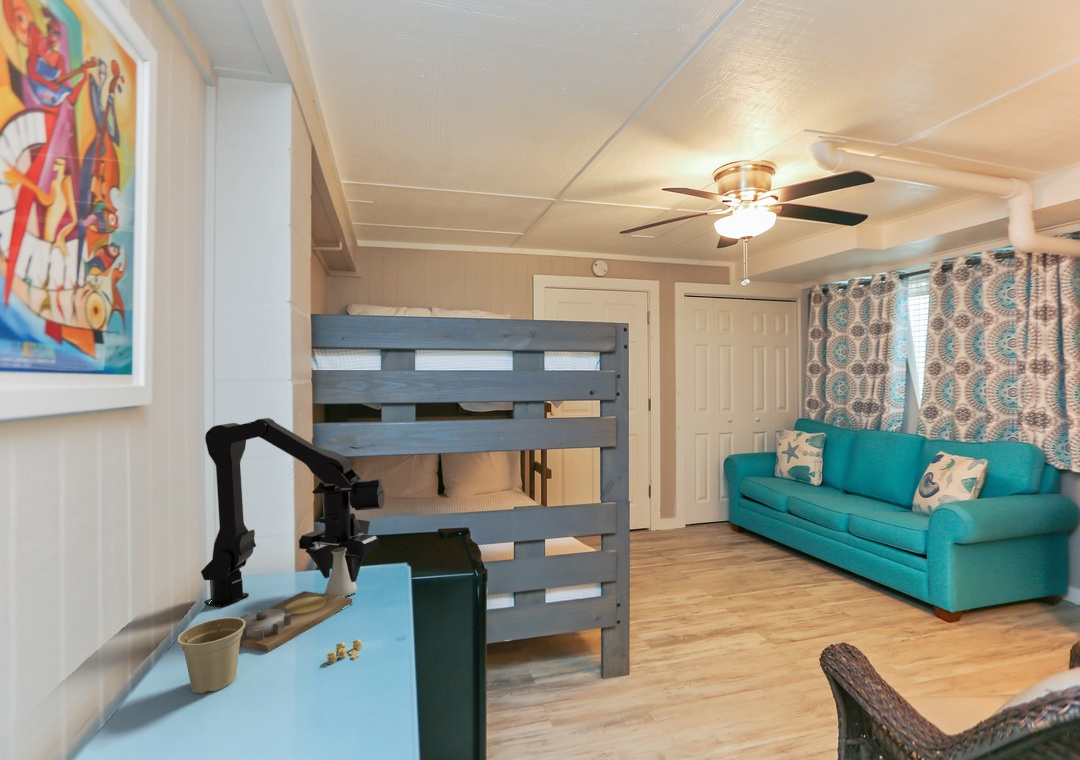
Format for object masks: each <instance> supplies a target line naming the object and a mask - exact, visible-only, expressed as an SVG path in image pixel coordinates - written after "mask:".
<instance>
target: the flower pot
mask: <svg viewBox="0 0 1080 760" xmlns="http://www.w3.org/2000/svg"><path fill="white" fill-rule="evenodd" d="M244 627H245V621H244V620H243V619H241V618H240V617H233V616H232V617H231V616H230V617H229V616H228V617H220V618H215V619H209V620H206V621H203V622H200V623H198V624H194V625H193V626H190V627H188V628H187V629H185V630H184V631H181V633H180V634H179V635H178V636H177V639H176V641H177V643H178V644H179V645H180V648H181V651H182V652H183V654H184V658H185V663H186V669H187V673H188V677H189V681H190V687H191V690H192V692H193V693H196V694H205V693H206V692H217V691H220V690H222V689H223V688H226V687H228V686H229V685H231V684H232V683H233V682H234V681H235V678H236V677H237V673H238V662H239V653H240V646H239V645H240V637H241V636H242V632H243V629H244Z"/></svg>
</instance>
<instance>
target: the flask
mask: <svg viewBox="0 0 1080 760" xmlns="http://www.w3.org/2000/svg"><path fill="white" fill-rule="evenodd" d="M346 552H347V547H337V548H332V549H331V554H332V560H333V561H332V567H331V570H330V576H329V579H328V582H327V585H326V588H325V591H324V594H326V595H332V596H339V597H343V596H346V595H349V594H352V595H354V594H353V593H355V592H356V593H357V591H358V586H357V584H356V581H355V582H351V579H350V576H349V572H348V568H347V564H346V560H345V555H346ZM356 593H355V594H356Z"/></svg>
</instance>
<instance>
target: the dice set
mask: <svg viewBox="0 0 1080 760" xmlns="http://www.w3.org/2000/svg"><path fill="white" fill-rule="evenodd" d="M335 649H336V651H331V652H329V653H327V664H329V665H333V664H335V663H337V660H338V659H337V655H338V657H339V659H340V658H343V659H346V658H345V657H347V648H346V643H345V642H338V643H337V644H336V648H335ZM354 650H355V651H354ZM361 650H362V639H354V640H353V641H352V650H351V651H350V652H348V655H349V654H350V655H349V656H350V659H351V658H352V660H356V659H358V658H360V655H359V654H358V652H359V651H361ZM337 653H339V654H337ZM332 663H333V664H332Z"/></svg>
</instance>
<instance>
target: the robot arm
mask: <svg viewBox="0 0 1080 760" xmlns="http://www.w3.org/2000/svg"><path fill="white" fill-rule="evenodd" d="M255 438H260V439H263V440H264V441H266V442H267V443H269V444H271V445H273V446H274V447H276V448H278V449H279V450H281V451H283V452H285V453H286V454H287V455H289V456H291V457H293V458H295V459H296V460H298V461H300V462H302V463H303V464H304V465H306V466H307V468H308V469H309V470H310V471H309V472H311V474H312V475H314V476H315V477H317V478H318V479H319V480H320V482H319V484H318V485H317V486H316V488H315V489H313V490H312V494H313V495H315V494H322V508H323V509H322V510H323V517H319V523H320V524H323V530H321V529H320V530H319V529H316V530H314V531H310V532H307V533H304V534H302V535H301V537H299V539H298V547H299V550H301V549H302V550H305V553H306V554H308V555H309V556H310V558H311V559H312V561H313V562H314V563H315V565H316V566H317V568H318V570H319V571H320V574H321V575H322V576H323V578H324V579H328V578H330V574H331V552H332V550H333V547H339V548H343V547H344V548H346V552H348V553H347V554H346V553H345V560H346V564H347V568H348V572H349V576H350V579H351V582H355V583H356V581H357V579H358V576H359V572H360V570H361V566H362V563H363V561H364V559H365V556H366V555H367V554H369V553H371V552H372V551H374V550H377V549H379V548H380V545H379V541H380V540H379V538H378V536H376V535H372V534H369V530H370V523H371V520H363V519H358V518H356V514H355V513H354V512H351V508H352V509H355V511H367V510H371V511H372V510H382V509H383V508H384V504H385V497H386V496H385V490H384V486H383V484H382V479H381V478H373V479H365V480H362V478H361V477H360V476H359V475H358V474H357V472H356V471H355V470H354V469H353V467H352V465H351V460H350V459H349V458H348V457H347V456H345V455H343V454H341V453H339V452H338V453H337V452H335V451H332V450H328V449H325V448H321V447H318V446H316V445H315V444H313V443H311V442H310V441H307V440H306V439H304V438H303V437H301V436H300V435H297V434H296V433H294V432H292V431H291V430H289V429H287V428H285V426H282V425H280V424H278V422H276V421H274V419H272V418H269V417H265V418H257V419H255V420H254V421H249V422H245V423H242V424H239V423H237V422H229V423H223V424H217V425H213V426H212V427H210V428H209V429H208V431H206V433H205V437H204V440H205V445H206V448H207V453H208V455H209V457H210V459H211V460H212V461H213V463H214V465H215V473H216V474H215V475H216V489H217V490H216V491H217V506H218V509H217V510H218V524H219V529H218V532H217V534H216V537H215V540H214V543H213V547H212V548H213V550H212V558H211V560H210V561H209V562H208V563H207V565H205V566H204V568H203V569H202V570H201V571H200V573H201V574H200V575H201V576H202V578H203V580H204V581H209V591H210V592H209V593H210V598H209V599H208V598H207V599H205V600H204V601H203V603H204V604H205V605H209V604H208V603H209V602H210V601H211V600H212V601H211V602H210V604H212V605H211V606H215V607H219V608H224V607H227V606H228V605H231V604H233V603H235V602H238V601H241V600H242V599H245V598H247V597H249V596H250V594H249V592H244V591H243V590H244V588H243V577H242V571H241V568H243V567H245V566H246V564H247V561H248V559H249V558H250V557H251V556H252V555H253V553H254V549H255V548H256V547H257V544H256V542H255V535H256V531H255V529H250V530H249V529H248V528H247V527H246V525H245V521H244V520H245V519H244V504H243V502H244V501H243V491H242V490H243V488H242V473H241V462H242V461H241V460H242V459H243V456H244V453H245V450H246V445H247V440H251V439H255ZM359 534H362V535H359ZM352 537H355V538H352Z"/></svg>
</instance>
